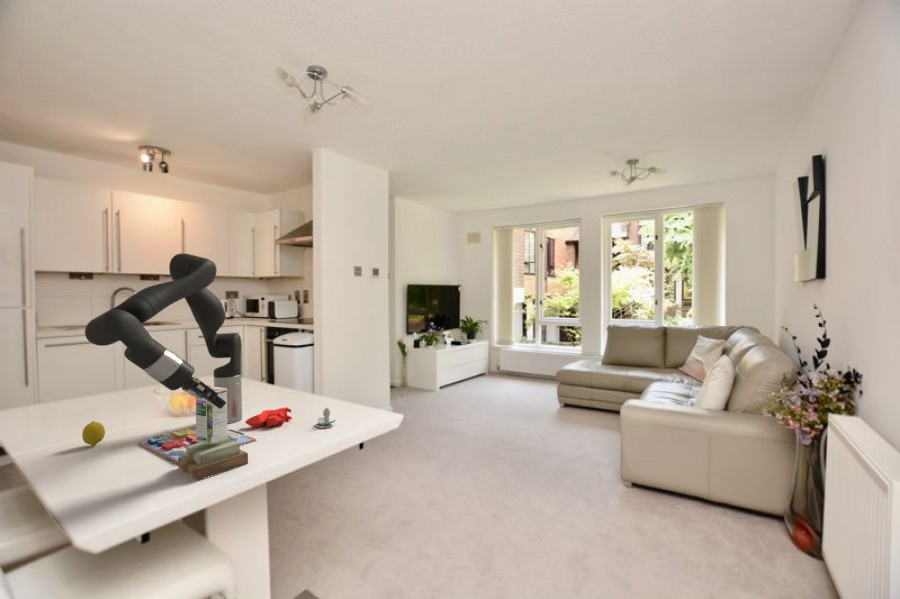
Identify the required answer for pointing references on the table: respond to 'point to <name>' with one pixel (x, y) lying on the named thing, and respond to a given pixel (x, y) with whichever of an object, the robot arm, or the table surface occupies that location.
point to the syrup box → (211, 418)
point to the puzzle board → (184, 442)
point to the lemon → (93, 433)
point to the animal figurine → (269, 417)
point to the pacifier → (326, 422)
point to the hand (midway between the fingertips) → (217, 403)
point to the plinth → (211, 466)
